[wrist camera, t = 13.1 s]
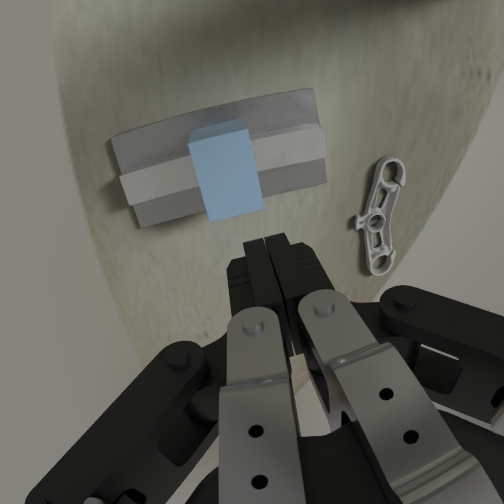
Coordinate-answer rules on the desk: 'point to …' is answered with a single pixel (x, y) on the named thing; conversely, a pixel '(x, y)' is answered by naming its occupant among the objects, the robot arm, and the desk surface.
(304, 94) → the din rail
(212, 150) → the block
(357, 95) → the desk surface
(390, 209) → the bracket
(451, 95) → the desk surface
